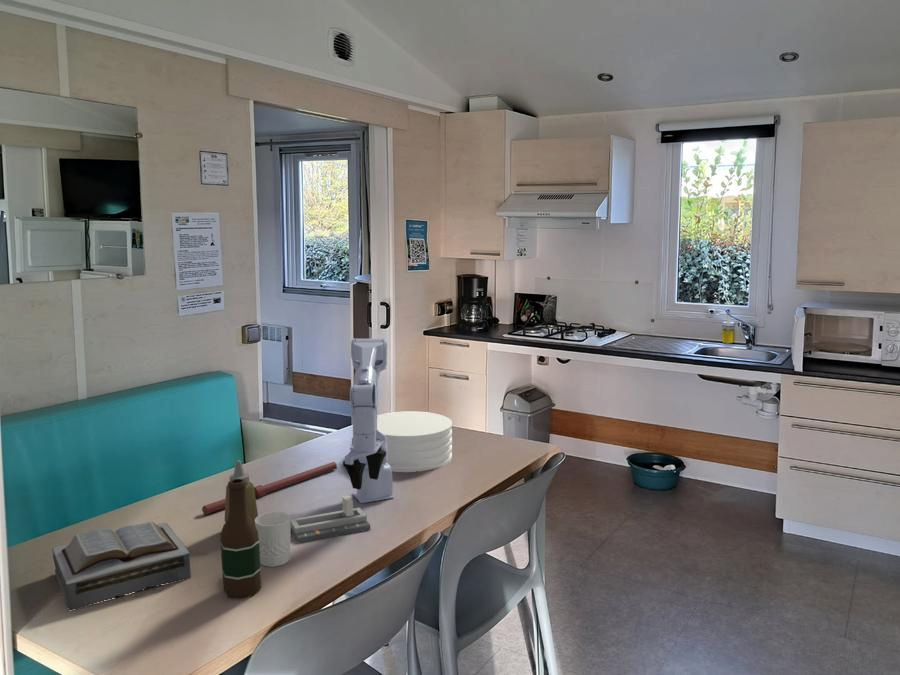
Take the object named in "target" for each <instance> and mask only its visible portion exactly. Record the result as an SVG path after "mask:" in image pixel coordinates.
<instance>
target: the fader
mask: <svg viewBox="0 0 900 675" xmlns="http://www.w3.org/2000/svg"><path fill="white" fill-rule="evenodd" d="M353 502H354V500H353V499H352V498H351V496H350V495H342V503H341V504H342V510H343V512H341V518H345V517H351V516H355V514H354V512H353V509H354V503H353Z"/></svg>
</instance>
